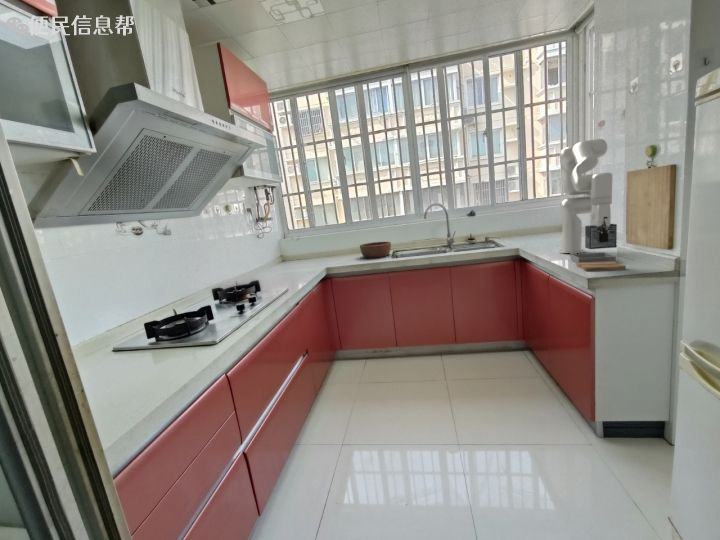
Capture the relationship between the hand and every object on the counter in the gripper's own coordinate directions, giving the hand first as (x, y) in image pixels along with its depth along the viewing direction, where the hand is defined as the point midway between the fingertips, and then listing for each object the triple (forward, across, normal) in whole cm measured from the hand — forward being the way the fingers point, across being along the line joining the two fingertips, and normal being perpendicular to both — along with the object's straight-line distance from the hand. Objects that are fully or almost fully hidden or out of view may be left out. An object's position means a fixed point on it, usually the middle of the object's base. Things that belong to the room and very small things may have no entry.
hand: (600, 240), depth 150 cm
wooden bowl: (+13, -80, -127) cm, 150 cm away
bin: (+13, -16, +2) cm, 20 cm away
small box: (+3, 0, 0) cm, 3 cm away
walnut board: (+13, 0, 0) cm, 13 cm away
